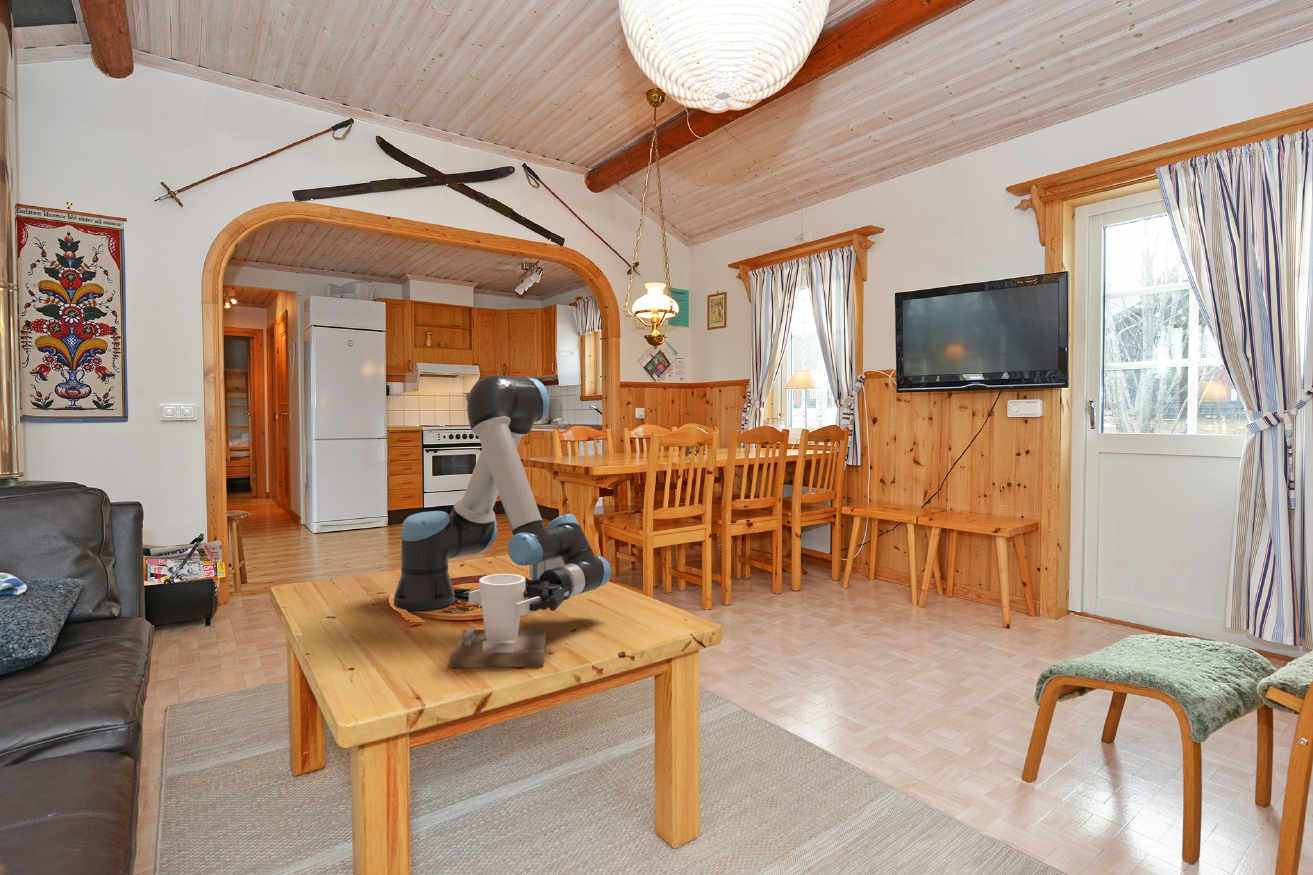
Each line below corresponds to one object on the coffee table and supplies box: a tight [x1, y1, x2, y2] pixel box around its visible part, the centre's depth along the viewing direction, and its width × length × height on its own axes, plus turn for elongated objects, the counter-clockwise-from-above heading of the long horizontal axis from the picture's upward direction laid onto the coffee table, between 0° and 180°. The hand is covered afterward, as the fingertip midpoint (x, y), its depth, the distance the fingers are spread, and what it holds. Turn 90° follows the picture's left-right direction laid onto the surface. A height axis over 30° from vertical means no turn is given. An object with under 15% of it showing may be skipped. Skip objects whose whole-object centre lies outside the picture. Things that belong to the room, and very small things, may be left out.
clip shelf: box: [451, 626, 547, 669], centre depth 144 cm, size 18×14×5 cm
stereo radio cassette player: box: [528, 557, 565, 580], centre depth 197 cm, size 21×8×20 cm, turn 20°
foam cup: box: [478, 573, 526, 642], centre depth 144 cm, size 10×9×13 cm
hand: (492, 604), depth 141 cm, fingers open, 13 cm apart
